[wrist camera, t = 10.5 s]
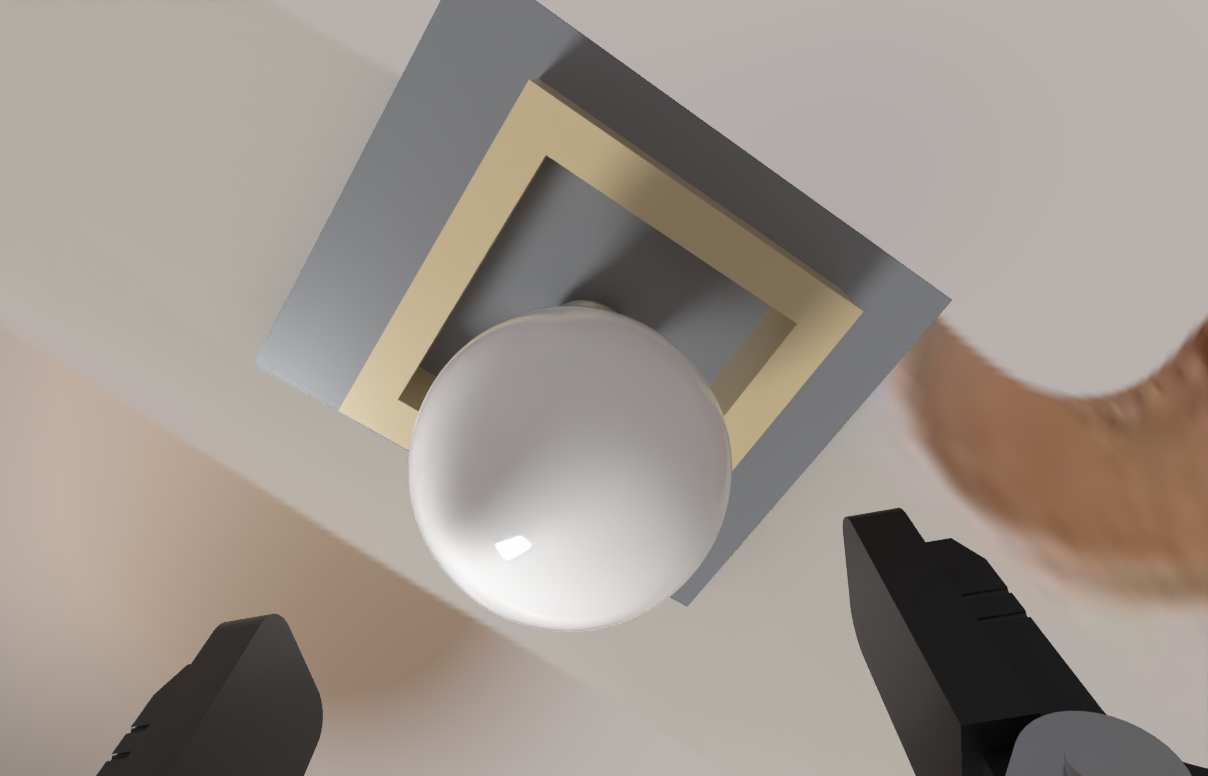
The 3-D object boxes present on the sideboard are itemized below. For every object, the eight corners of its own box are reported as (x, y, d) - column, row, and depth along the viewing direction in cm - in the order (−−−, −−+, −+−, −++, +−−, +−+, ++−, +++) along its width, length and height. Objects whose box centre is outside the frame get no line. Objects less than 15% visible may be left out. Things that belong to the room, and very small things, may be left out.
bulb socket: (273, 347, 24) (213, 396, 21) (476, -42, 20) (445, -67, 17) (683, 579, 28) (694, 658, 24) (932, 286, 23) (991, 326, 20)
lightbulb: (654, 456, 24) (682, 742, 14) (456, 402, 23) (336, 659, 13) (725, 266, 22) (819, 444, 12) (507, 200, 21) (406, 326, 11)
